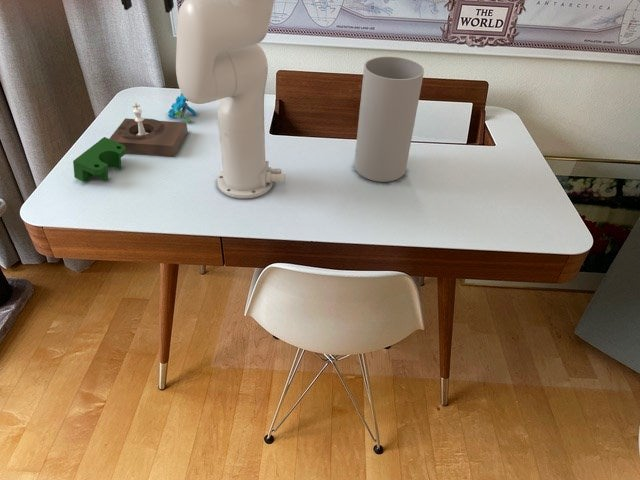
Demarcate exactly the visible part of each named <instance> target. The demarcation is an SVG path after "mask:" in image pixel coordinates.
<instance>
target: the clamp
mask: <svg viewBox="0 0 640 480" xmlns="http://www.w3.org/2000/svg"><path fill="white" fill-rule="evenodd" d="M125 155H126V153H125V146H124V145H122V144H120V143H118V142H115V141H113V140H110V139H109V138H108V137H106V136H104V137H102V138H100V140H98V141H97V142H95V143H94V144H92V146H90V147H89V148H88V149H86V150H85V151H83V153H81V154H80V155H79V156H77V157H76V158H75V159H73V160H72V164H73V175H74V178H75V179H77V180H79V181H81V182H84V183H86V182H88V181H89V180H90V179H92V178H93V177H97V178H98V179H101V180H103V181H106V182H108V181H109V168H116V169H118V170H121V169H122V157H123V156H125Z"/></svg>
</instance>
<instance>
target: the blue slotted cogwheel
mask: <svg viewBox="0 0 640 480" xmlns="http://www.w3.org/2000/svg"><path fill="white" fill-rule="evenodd" d="M187 102H189V101H188V100H187V99H186V98H185V97H184V96H183V94H182V93H181V92H180V95H178V96H177V97H176V98H175V102H173V103H172V104H171V108H170V109H169V110H168V115H167V116H168V118H170V119H172V118H175V116H177V117H178V118H180V119H184V120H185V122H187V123H191V122H192V120H191V119H189V118H188V117H187V116H186V115H185V114H186V111H188V112H189V113H190V114H192V115H193V116H195V115H196V114H197V111H195V110H194V109H193V108H192V107H190V106H189V104H188V103H187Z"/></svg>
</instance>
